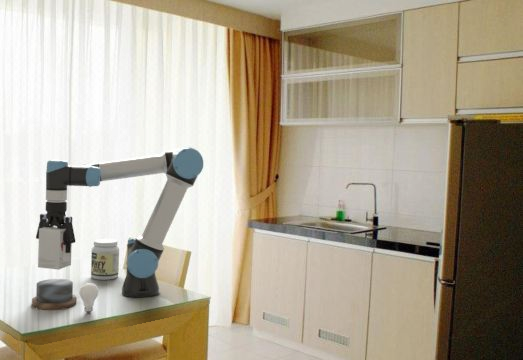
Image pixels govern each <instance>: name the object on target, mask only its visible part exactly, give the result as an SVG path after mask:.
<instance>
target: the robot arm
mask: <svg viewBox="0 0 523 360" xmlns="http://www.w3.org/2000/svg"><path fill="white" fill-rule="evenodd" d="M203 168H204V158H203V156H202V154H201V153H200V152H199V151H198V150H197V149H195V148H194V147H189V146H184V147H183V146H182V147H180V148H176V149H172V150H168V151H163V152H162V153H161V154H155V155H149V156H148V155H147V156H141V157H134V158H133V157H132V158H127V159H119V160H112V161H105V162H99V163H96V162H95V163H87V164H86V163H85V164H82V165H81V166H80V165H79V166H77V165H75V166H74V165H69V162H68V161H67V160H62V159H60V160H59V159H51V160H48V161H47V163H46V171H45V173H46V174H45V175H46V176H45V200H46V201H45V211H46V213H41V214H39V222H38V227H37V231H36V236H35V238H36V239H37V240H39V228H44V227H53V226H57V228H58V229H66V230H65V231H64V233H63V241H64V244H63V258H62V262H66V261H69V253H70V251H71V252H72V247H71V244H74V243H76V237H75V232H74V227H73V217H72V216H67V215H66V212H67V207H68V203H67V200H68V186H71V187H72V186H74V187H89V188H92V187H99V186H100V184H101V182H107V181H113V180H121V179H129V178H136V177H143V176H151V175H158V174H165V175H166V181H165V184H164V187H163V189H162V190H161V193H160V194H159V195H160V196H159V198H158V199H157V202H156V203H155V206H154V208H153V210H152V212H151V214H150V217H149V219H148V221H147V224H146V226H145V227H144V230H143V233H142V234H141V235H139V236H136V237H133V238H132V237H131V238H129V239H127V243H126V247H127V248H126V249H127V251H126V253H127V254H126V276H125V278H124V281H123V284H122V287H121V294H122V295H124V296H126V297H130V298H149V297H154V296H156V295H158V294H159V293H160V286H159V282H158V279H157V276H156V271H157V270H158V267H159V261H160V259H161V257H162V255H163V253H164V250H165V248H164V245H163V243H164V241H165V239H166V236H167V234H168V233H169V230H170V228H171V225H172V224H173V221H174V218H175V217H176V214H177V212H178V211H179V208H180V206H181V204H182V201H183V199H184V197H185V194H186V192H187V190H188V189H189V188H191V187H193V186H194V185H195V183H196V181H197V178H198V176H199V175H200V174H201V173H202V172H203Z"/></svg>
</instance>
